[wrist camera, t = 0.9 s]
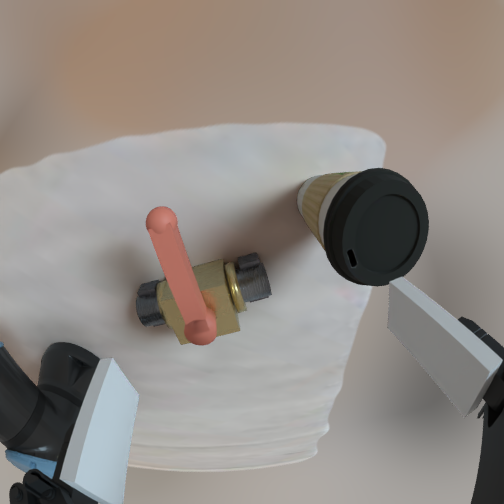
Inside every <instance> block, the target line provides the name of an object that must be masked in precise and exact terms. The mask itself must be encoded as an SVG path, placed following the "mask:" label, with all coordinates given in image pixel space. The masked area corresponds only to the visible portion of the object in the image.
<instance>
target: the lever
mask: <svg viewBox="0 0 504 504" xmlns="http://www.w3.org/2000/svg"><path fill="white" fill-rule="evenodd" d="M177 224H178V221H177V217H176V215H175V213H174V212H173V211H172V210H171V209H170V208H167V207H156V208H154V209H153V210H151V211H150V213H149V214H148V216H147V218H146V228H147V230H148V232H149V234H150V237H151V240H152V243H153V245H154V248H155V251H156V253H157V256H158V259H159V261H160V264H161V267H162V269H163V272H164V274H165V277H166V279H167V282H168V284H169V287H170V289H171V291H172V294H173V296H174V299H175V301H176V303H177V306H178V308H179V310H180V312H181V315H182V317H183V319H184V321H185V327H184V335H185V337H186V339H187V340H188V341H189V342H191V343H193V344H195V345H207V344H210V343H211V342H213V341H214V339H215V338H216V335H217V326H216V315H215V313H214V312H213V311H212V310H211V309H210V308H208V307H206V305H205V302H204V300H203V297H202V294H201V292H200V289H199V286H198V283H197V281H196V278H195V275H194V272H193V270H192V267H191V264H190V261H189V258H188V256H187V253H186V250H185V247H184V244H183V241H182V238H181V235H180V232H179V229H178V226H177Z"/></svg>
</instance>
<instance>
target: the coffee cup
mask: <svg viewBox="0 0 504 504" xmlns="http://www.w3.org/2000/svg"><path fill="white" fill-rule="evenodd" d="M297 206H298V209H299V212H300V214H301V215H302V217H303V218H304V220H305V222H306V224H307V225H308V227H309V228H310V230H311V231H312V233H313V234H314V235H315V237H316V238H317V240H318V241H319V243H320V244H321V246H322V247H323V249H324V250H325V251H326V255H327V258H328V260H329V262H330V263H331V265H332V267H333V268H334V269H335V270H336V271H337V273H338V274H339V275H341V276H342V277H344V278H345V279H347V280H349V281H351V282H353V283H356V284H360V285H370V286H384V285H388V284H389V282H390V281H392V280H395V279H397V278H400V277H403V276H404V275H406V274H407V273H408V272H409V271H410V270H411V269H412V268H413V267H414V265H415V264H416V262H417V261H418V259H419V258H420V256H421V254H422V252H423V250H424V247H425V244H426V241H427V236H428V228H429V220H428V212H427V209H426V205H425V203H424V201H423V199H422V197H421V195H420V194H419V193H418V191H416V189H415V188H414V187H413V186H412V184H411V183H410V182H409V181H408V180H407V179H406V178H404V177H403V176H401V175H400V174H398V173H396V172H394V171H391V170H389V169H383V168H374V169H367V170H365V171H362V172H361V171H360V172H344V173H331V174H325V175H319V176H314V177H312V178H310V179H308V180H307V181H306V182H305V183H303V185H302V186H301V188H300V190H299V192H298V196H297Z"/></svg>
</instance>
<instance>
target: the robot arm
mask: <svg viewBox="0 0 504 504" xmlns="http://www.w3.org/2000/svg"><path fill="white" fill-rule="evenodd" d="M388 329H389V330H390V331H391V332H392V333H393V334H394V335H395V336H396V338H397V339H398V340H399V341H400V342H401V343H402V344H403V345H404V347H405V348H406V349H407V350H408V351H409V352H410V353H411V354H412V356H413V357H414V358H415V359H416V360H417V361H418V363H419V364H420V365H421V366H422V367H423V368H424V369H425V371H426V372H427V373H428V374H429V375H430V377H431V378H432V379H433V380H434V381H435V382H436V384H437V385H438V386H439V387H440V388H441V390H442V391H443V392H444V393H445V395H446V396H447V397H448V398H449V399H450V401H451V402H452V403H453V404H454V406H455V407H456V408H457V409H458V411H459V412H460V413H461V414H462V416H463V417H466V416H467V415H468V414H470V413H471V412H472V411H473V410H475V409H476V408H477V407H478V405H479V404H480V402H481V400H482V399H484V400H485V402H486V403H485V404H484V406H483V408H482V409H481V411H480V412H479V414H478V418H480V417H481V415H482V414H483V412H484V416H483V418H484V422H483V436H482V446H481V455H480V462H479V468H478V474H477V479H476V484H475V488H474V493H473V497H472V501H471V504H504V348H503V346H501V345H500V344H499V343H498V342H497V341H496V340H495V339H493V338H492V337H491V336H490V335H489V334H488V335H487V333H486V332H485V331H484V330H483V329H481V328H480V327H479V326H478V325H477V324H476V323H474V322H473V321H472V320H469V319H466V318H464V317H461V318H459V319H458V320H457V319H456V318H455V317H453V316H452V315H451V314H450V313H448V312H447V311H446V310H445V309H443V308H442V307H441V306H440V305H439V304H437V303H436V302H435V301H434V300H432V299H431V298H429V297H428V296H427V295H426V294H425V293H423V292H422V291H421V290H419V289H418V288H417V287H415V286H414V285H413V284H411V283H410V282H409V281H407V280H406V279H405V278H403V277H400V278H397V279H395V280H392V281H390V282H389V311H388ZM3 345H4V344H3V342H1V341H0V442H1V443H2V444H3V445H5V446H6V447H7V450H6V451H5V452H6V458H7V460H8V461H10V462H11V463H12V464H13V465H14V466H16V467H17V468H19V469H20V470H22V471H24V472H25V473H26V474H25V476H24V478H23V484H21V483H15V484H13V485H12V487H11V489H10V493H9V496H10V504H98V503H100V504H123V500H124V490H125V481H126V472H127V465H128V458H129V451H130V444H131V438H132V432H133V427H134V421H135V416H136V410H137V405H138V400H139V394H138V393H137V392H136V390H135V389H134V388H133V386H132V385H131V384H130V382H129V381H128V379H127V378H126V377H125V375H124V374H123V372H122V371H121V369H120V368H119V366H118V365H117V364H116V362H115V361H114V359H113V358H107V359H99V358H98V357H96V356H95V355H94V354H92V353H91V352H89V351H87V350H86V349H84V348H82V347H79V346H77V345H74V344H70V343H65V342H59V343H54V344H52V345H50V346H49V347H48V349H47V350H46V352H45V353H44V355H43V357H42V360H41V368H40V373H39V380H38V385H37V386H36V385H35V384H34V383H33V382H32V381H31V380H30V379H29V377H28V376H27V375H26V374H25V373H24V372H23V370H22V369H21V368H20V367H19V366H18V364H17V363H16V362H15V361H14V359H13V358H12V357H11V355H10V354H9V353H8V351H7V350H6V349H5V347H4V346H3Z"/></svg>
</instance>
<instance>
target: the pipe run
mask: <svg viewBox="0 0 504 504" xmlns="http://www.w3.org/2000/svg"><path fill="white" fill-rule="evenodd" d="M238 262H239V266H240V269H238V270H236V268H235V265H234V262H231V263H228V264H225V265H224V262H223V259H220V260H216V261H213V262H209V263H205V264H202V265H198V266H194V267H192V270H193V272H194V275H195V278H196V281H197V283H198V286H199V289H200V292H201V294H202V297H203V300H204V302H205V305H206V307H208V308H210V309H211V310H212V311H213V312H214V313H215V315H216V326H217V335H216V337H217V336H221V335H225V334H229V333H233V332H237V331H240V326H239V320H238V313H240V312H244V311H247V308H246V304H245V302H248V301H250V302H254V301H257V300H261V299H264V298H268V297H269V296H270V295H272V294H271V289H270V284H269V281H268V277H267V274H266V271H265V268H264V265H263V263H260V260H259V258H258V255H257V253H253V254H249V255H246V256H242V257H238ZM138 295H139V296H138V297H137V300H136V309H137V314H138V317H139V319H140V321H141V322H142V324H143V325H144V326H146V327H148V326H152V325H153V326H158V325H163V324H166V325H167V326H168V327H169V328H170V329H173V330H174V332H175V334H176V336H177V338H178V340H179V342H180V344H181V345H183V344H187V343H191V342H189V341H188V340H187V339H186V337H185V335H184V327H185V321H184V319H183V317H182V315H181V312H180V310H179V308H178V306H177V303H176V301H175V299H174V296H173V294H172V291H171V289H170V287H169V284H168V282H167V280H166V281H162V282H159V281H158V280H155V281H151V282H148V283H144V284H142V285H141V287H140V289H139V291H138ZM237 311H238V313H237Z"/></svg>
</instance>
